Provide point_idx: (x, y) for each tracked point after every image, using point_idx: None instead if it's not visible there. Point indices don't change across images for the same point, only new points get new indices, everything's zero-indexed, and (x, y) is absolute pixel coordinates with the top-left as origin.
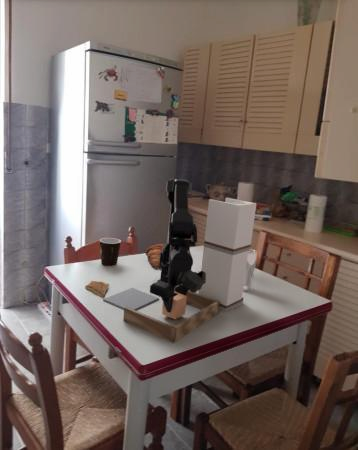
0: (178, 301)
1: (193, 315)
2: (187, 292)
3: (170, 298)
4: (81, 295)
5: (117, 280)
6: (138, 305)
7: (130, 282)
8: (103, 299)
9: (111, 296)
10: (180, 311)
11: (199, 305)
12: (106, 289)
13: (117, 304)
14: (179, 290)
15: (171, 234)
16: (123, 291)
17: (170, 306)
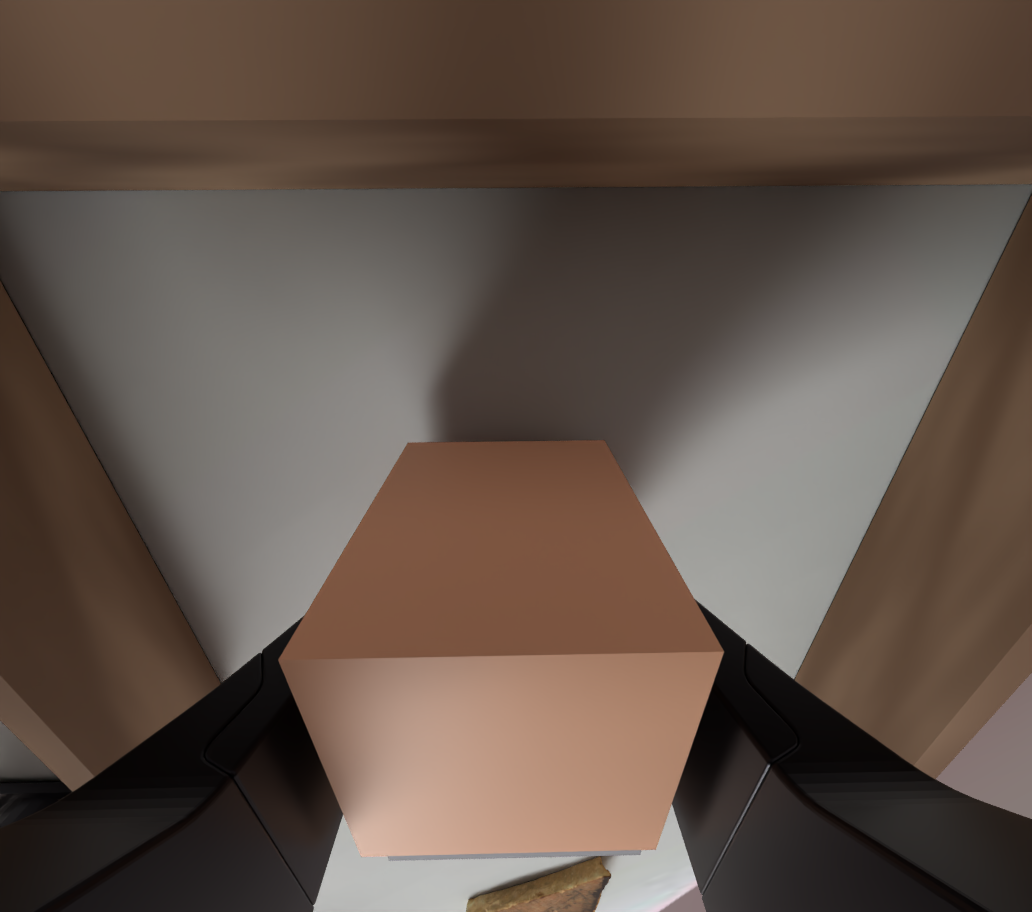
0: (652, 619)
1: (670, 94)
2: (40, 692)
3: (973, 809)
4: (656, 893)
5: (379, 909)
6: None
7: (333, 882)
8: (640, 850)
9: (580, 852)
10: (512, 475)
11: (59, 454)
12: (538, 897)
13: None
14: (281, 866)
15: None
16: (474, 857)
17: (703, 606)
